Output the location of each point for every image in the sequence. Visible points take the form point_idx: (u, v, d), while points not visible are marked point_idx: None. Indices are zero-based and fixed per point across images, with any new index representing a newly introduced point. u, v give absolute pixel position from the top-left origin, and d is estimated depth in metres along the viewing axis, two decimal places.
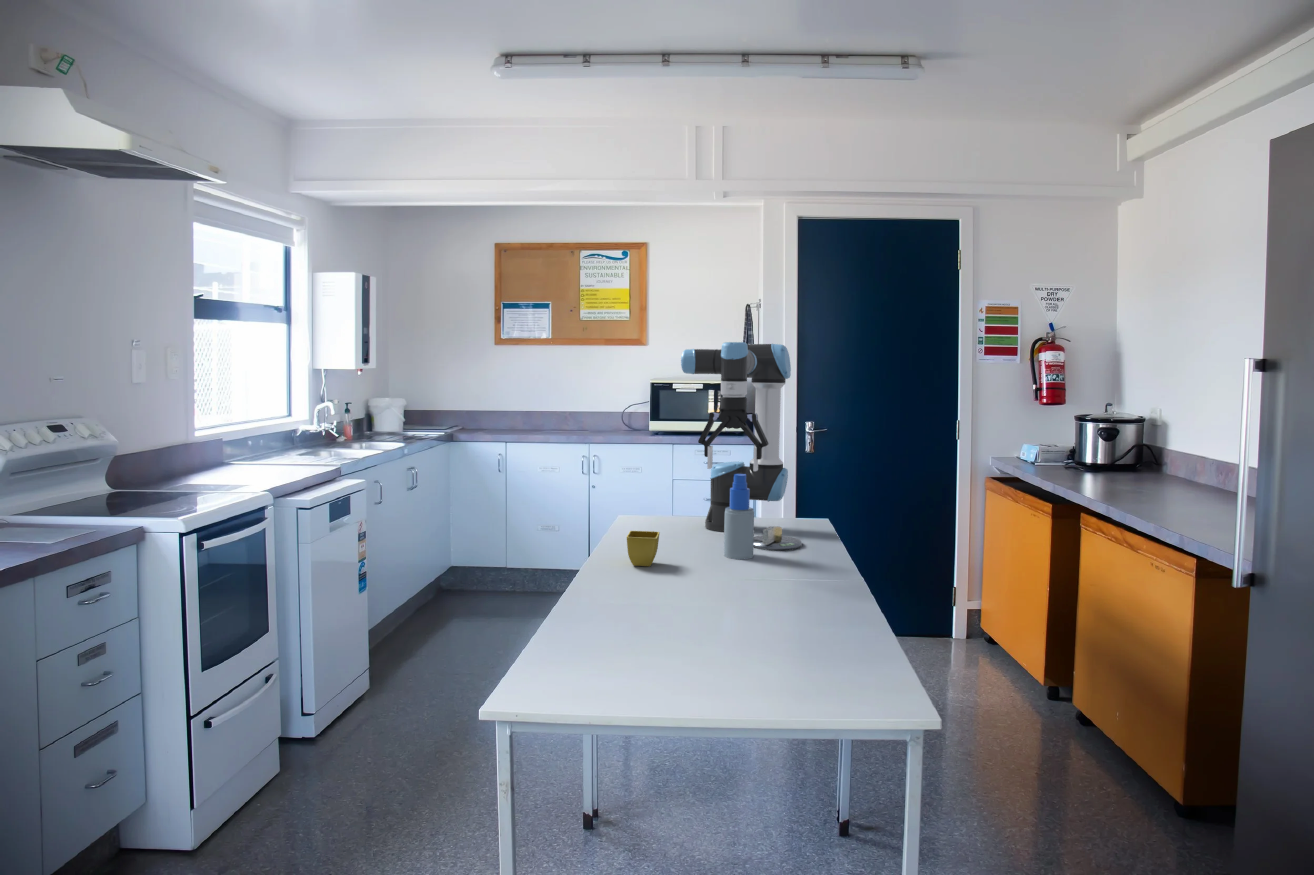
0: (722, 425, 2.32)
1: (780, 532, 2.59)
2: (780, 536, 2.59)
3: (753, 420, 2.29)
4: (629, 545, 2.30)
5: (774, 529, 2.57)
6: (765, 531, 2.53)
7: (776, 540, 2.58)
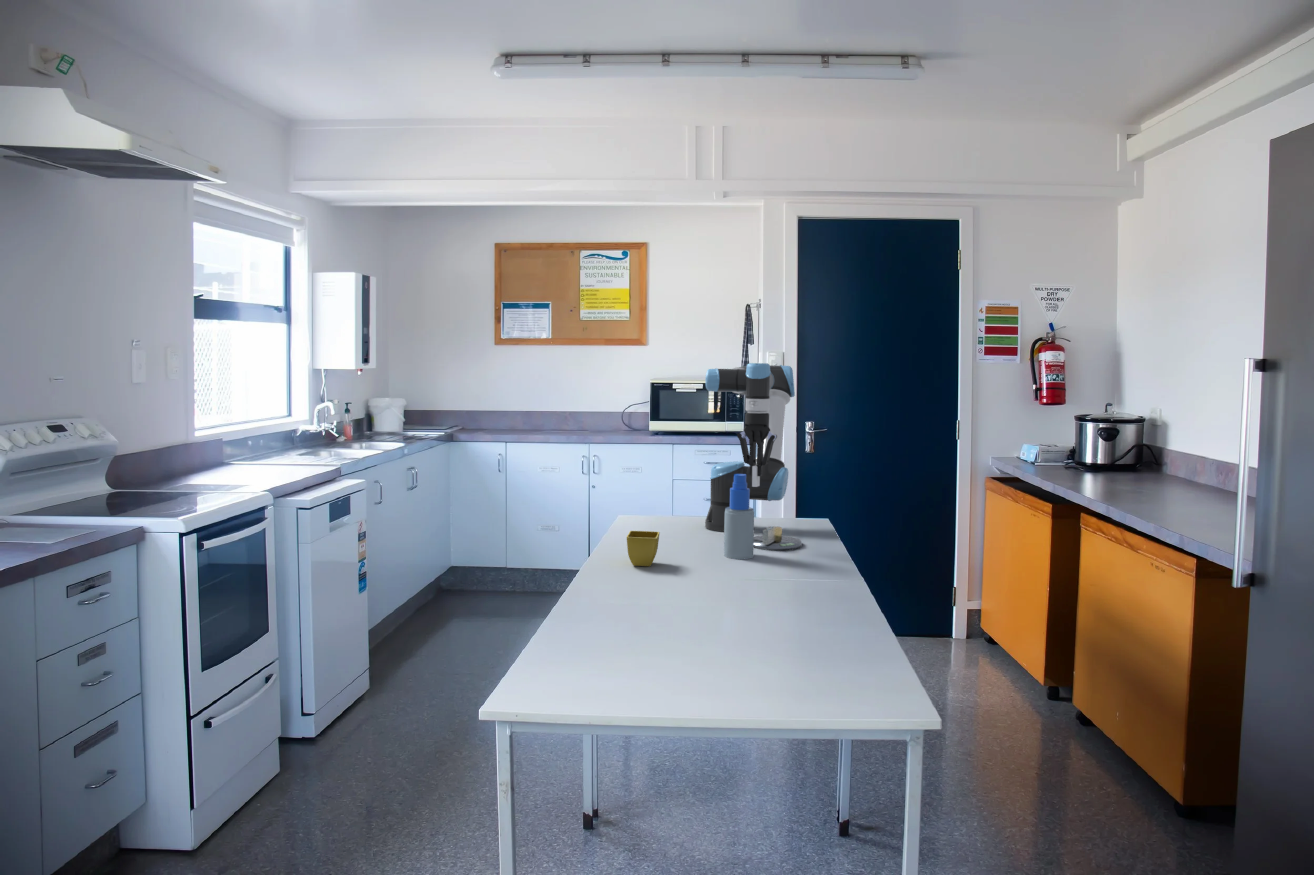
0: (751, 440, 2.54)
1: (780, 532, 2.59)
2: (780, 536, 2.59)
3: (769, 440, 2.52)
4: (629, 545, 2.30)
5: (774, 529, 2.57)
6: (765, 531, 2.53)
7: (776, 540, 2.58)
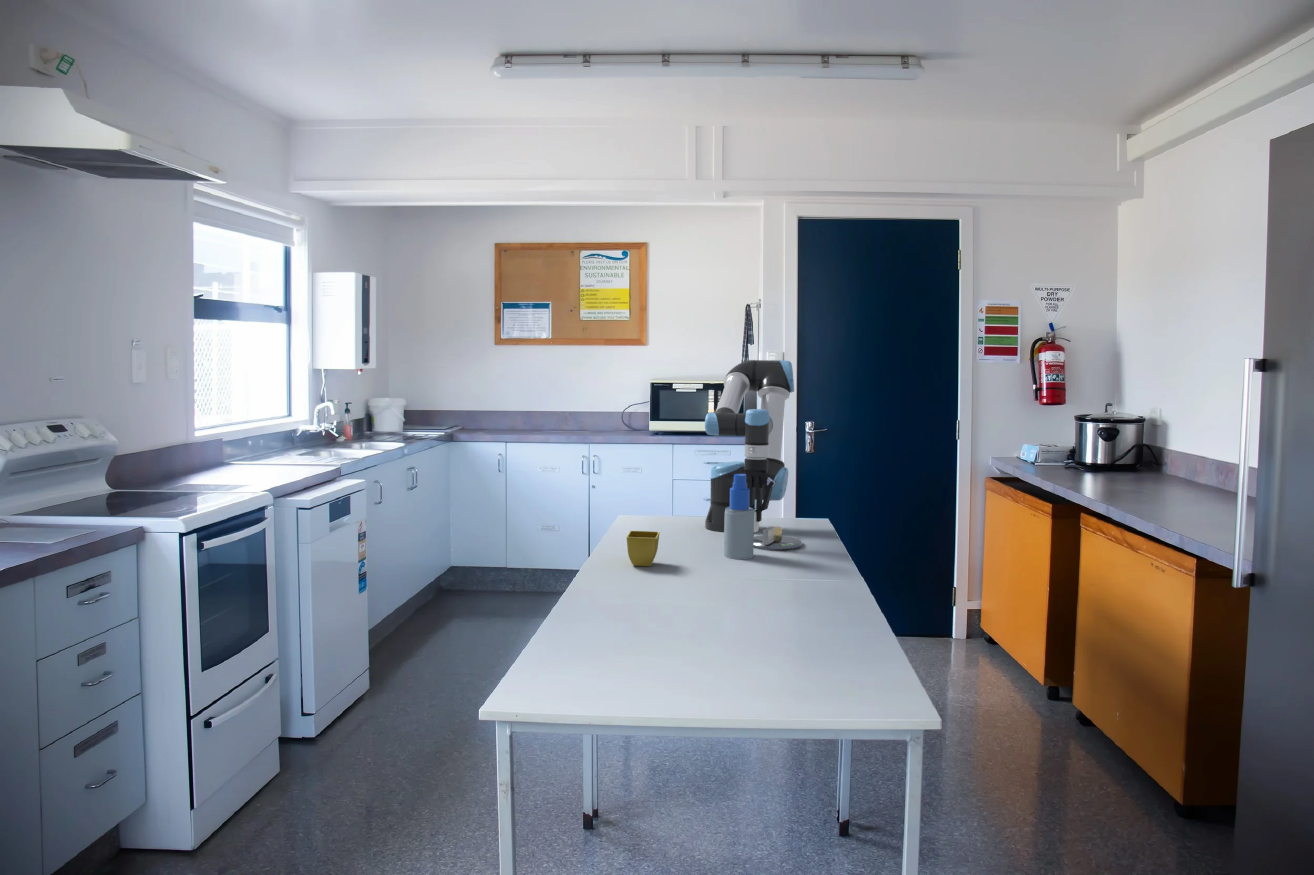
0: (750, 486, 2.56)
1: (780, 532, 2.59)
2: (780, 536, 2.59)
3: (768, 486, 2.53)
4: (629, 545, 2.30)
5: (774, 529, 2.57)
6: (765, 531, 2.53)
7: (776, 540, 2.58)
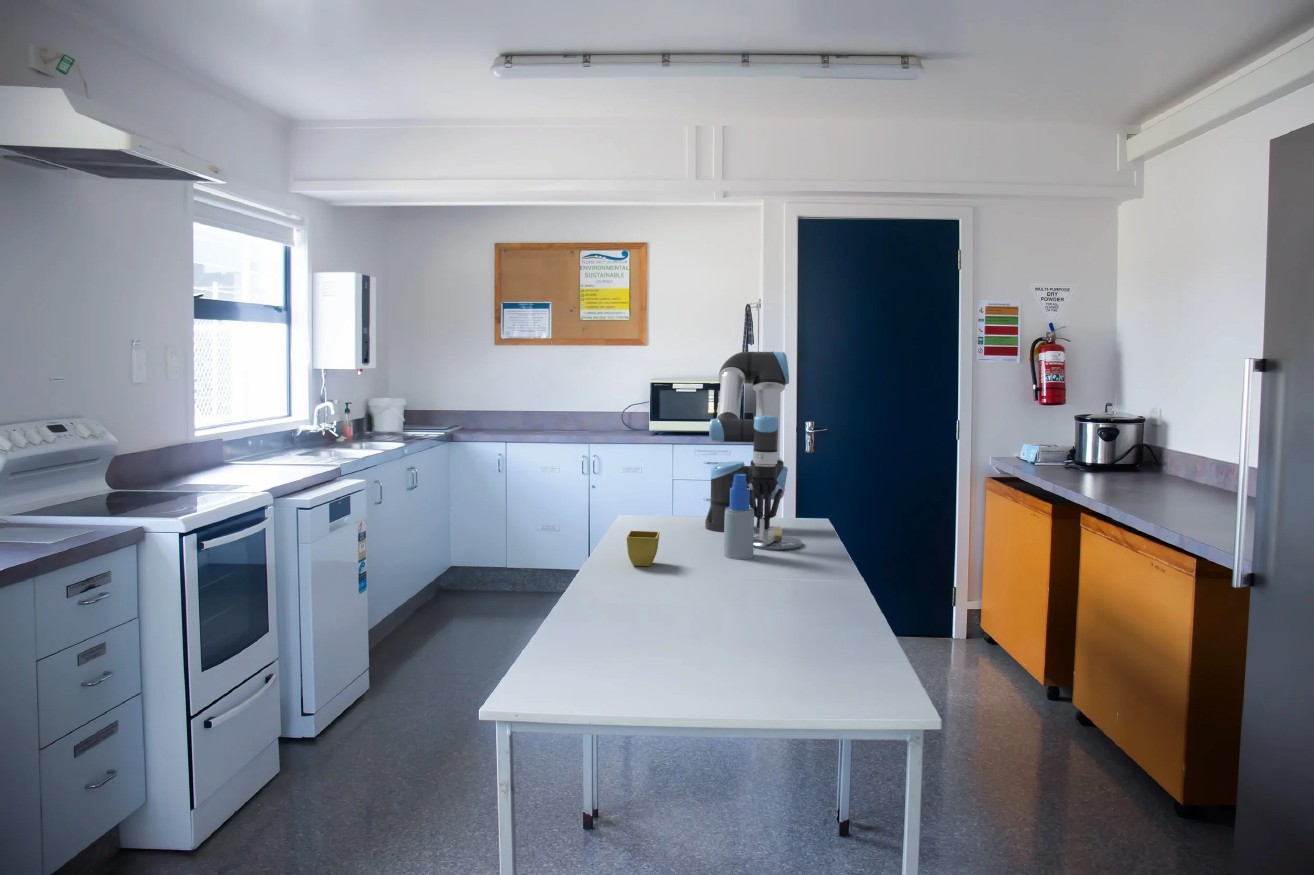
0: (758, 493, 2.53)
1: (780, 532, 2.59)
2: (780, 536, 2.59)
3: (777, 493, 2.50)
4: (629, 545, 2.30)
5: (774, 529, 2.57)
6: (765, 531, 2.53)
7: (776, 540, 2.58)
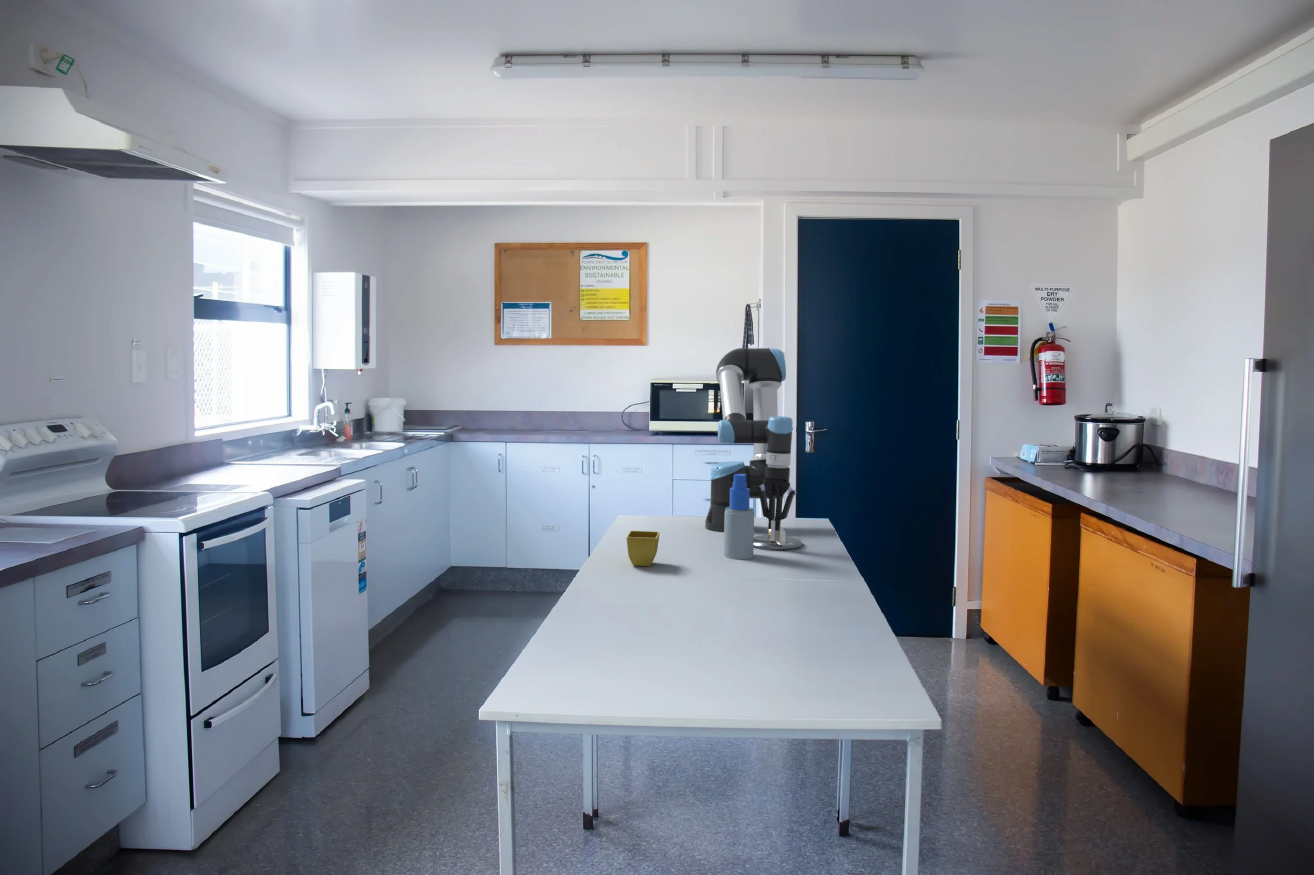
0: (770, 494, 2.52)
1: None
2: None
3: (789, 495, 2.49)
4: (629, 545, 2.30)
5: None
6: (782, 532, 2.52)
7: None
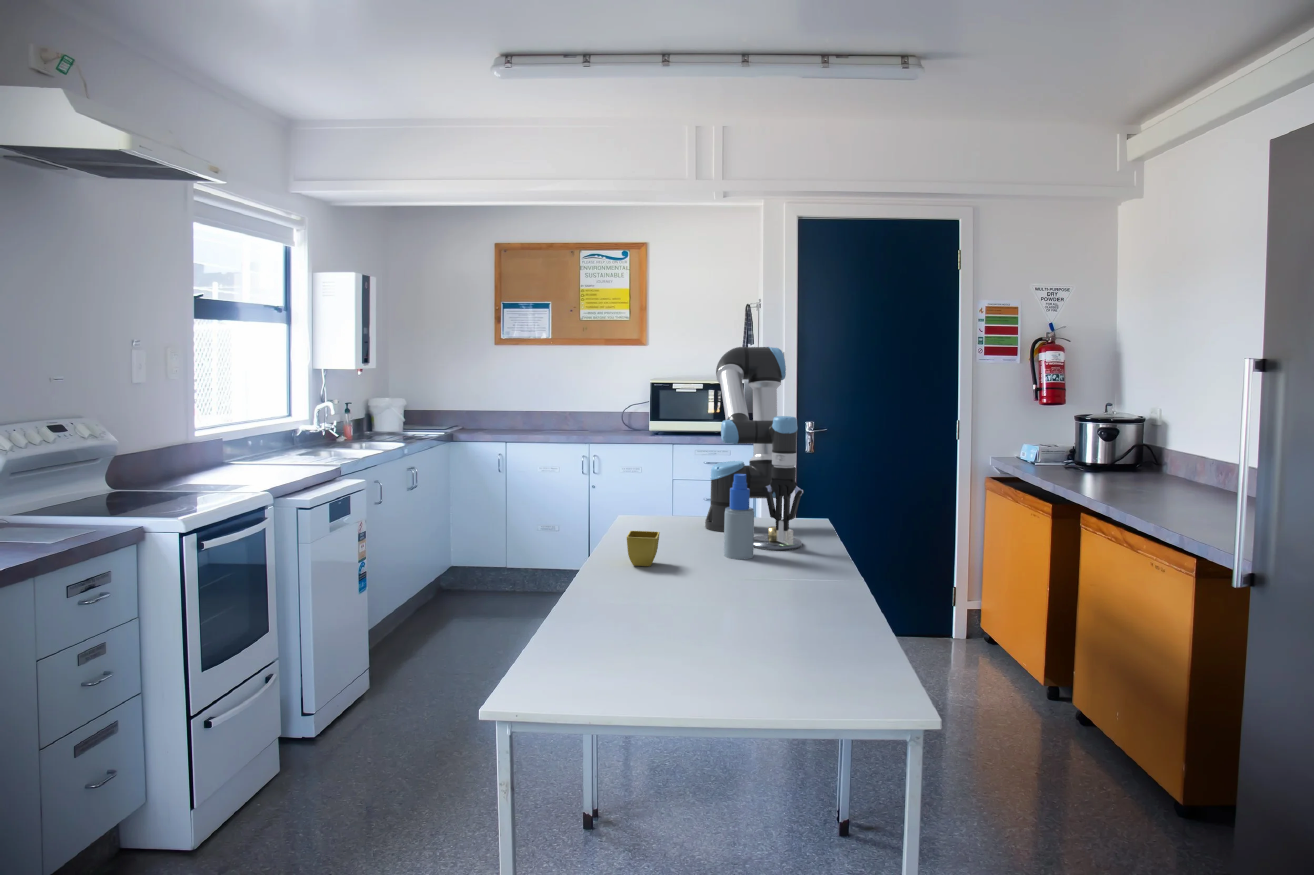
0: (777, 494, 2.50)
1: None
2: None
3: (796, 495, 2.48)
4: (629, 545, 2.30)
5: None
6: (790, 531, 2.53)
7: None
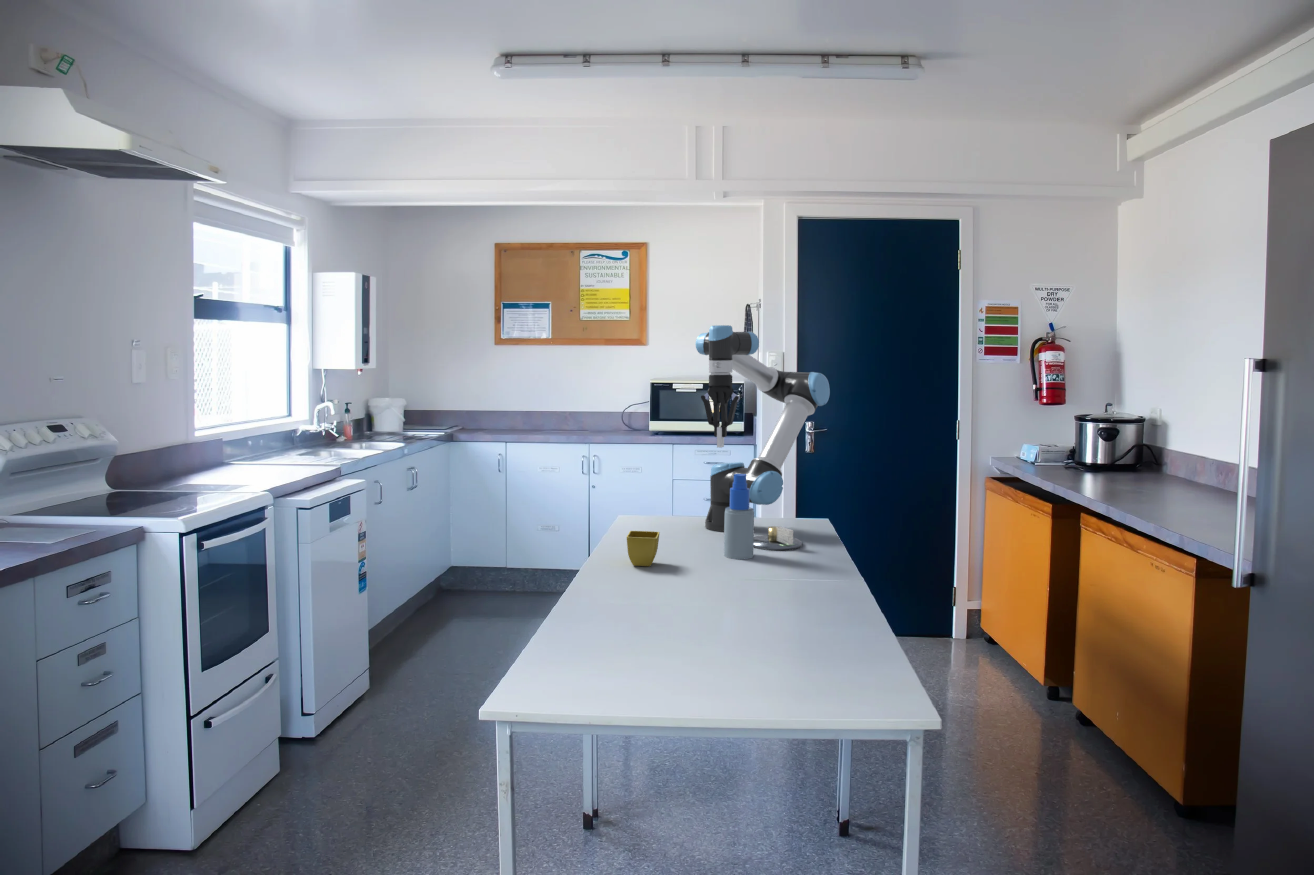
0: (715, 401, 2.58)
1: None
2: None
3: (733, 400, 2.57)
4: (629, 545, 2.30)
5: None
6: (790, 531, 2.53)
7: None
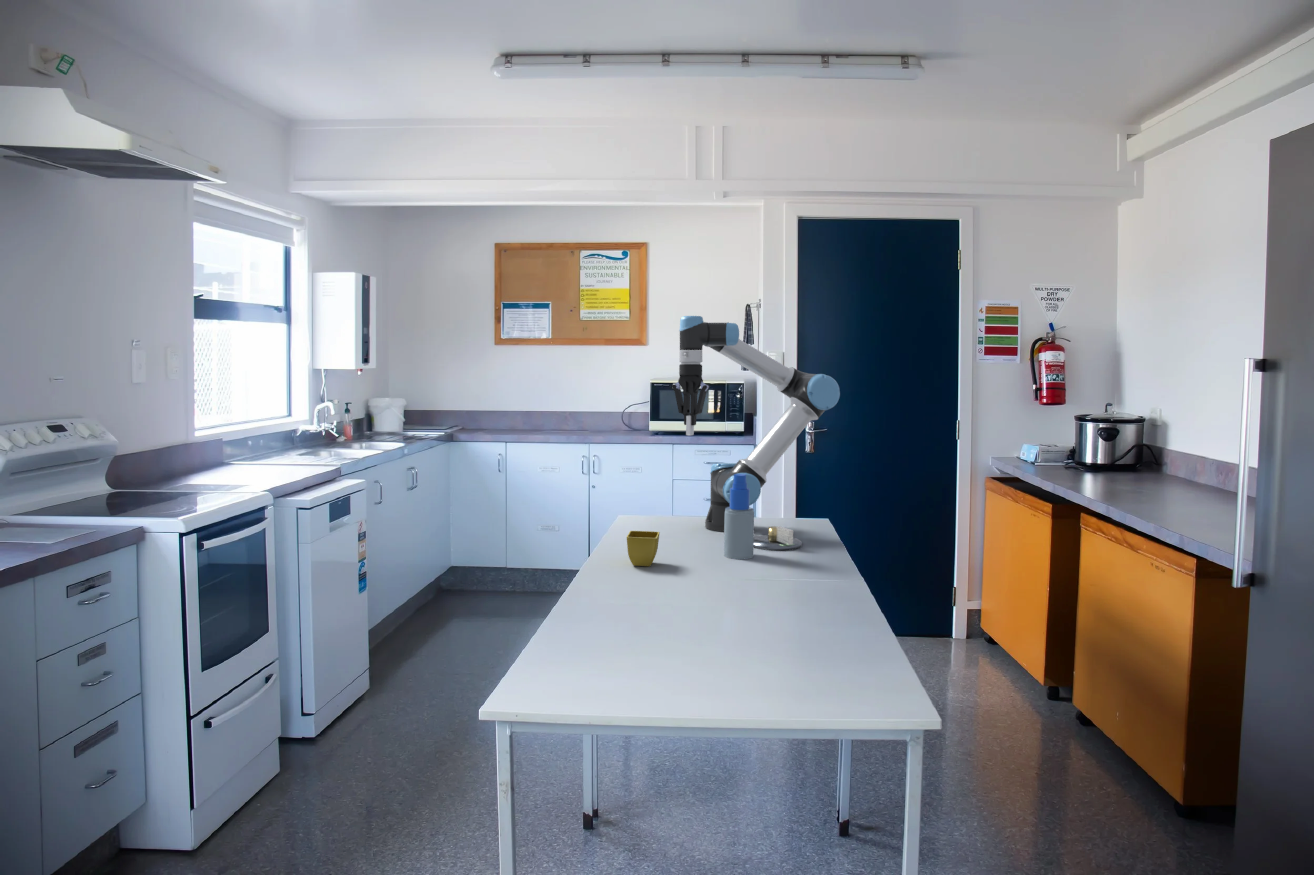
0: (685, 390, 2.64)
1: None
2: None
3: (702, 389, 2.62)
4: (629, 545, 2.30)
5: None
6: (790, 531, 2.53)
7: None
